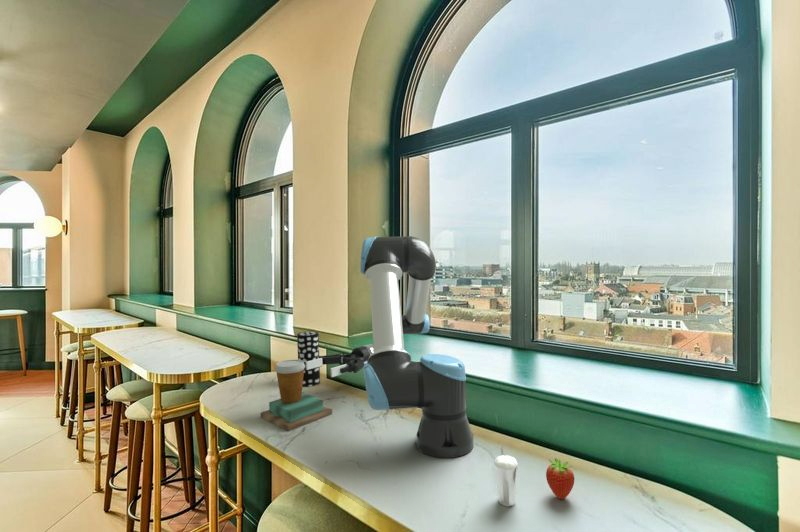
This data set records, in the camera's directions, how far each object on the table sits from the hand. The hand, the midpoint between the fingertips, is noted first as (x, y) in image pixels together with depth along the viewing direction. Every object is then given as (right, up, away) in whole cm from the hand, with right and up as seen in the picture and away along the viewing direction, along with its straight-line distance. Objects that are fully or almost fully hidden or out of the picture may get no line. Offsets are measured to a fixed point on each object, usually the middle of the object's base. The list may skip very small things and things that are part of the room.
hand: (318, 369), depth 136 cm
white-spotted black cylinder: (-9, -12, +26) cm, 30 cm away
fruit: (+60, -13, -53) cm, 81 cm away
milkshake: (+49, -13, -53) cm, 74 cm away
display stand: (-6, -13, -6) cm, 16 cm away
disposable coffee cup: (-8, -9, -5) cm, 13 cm away
